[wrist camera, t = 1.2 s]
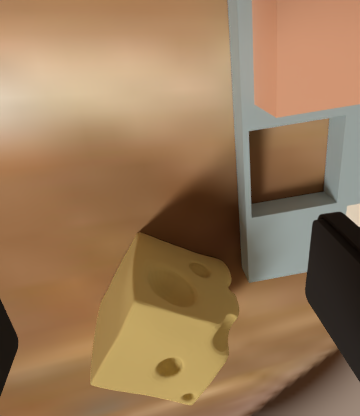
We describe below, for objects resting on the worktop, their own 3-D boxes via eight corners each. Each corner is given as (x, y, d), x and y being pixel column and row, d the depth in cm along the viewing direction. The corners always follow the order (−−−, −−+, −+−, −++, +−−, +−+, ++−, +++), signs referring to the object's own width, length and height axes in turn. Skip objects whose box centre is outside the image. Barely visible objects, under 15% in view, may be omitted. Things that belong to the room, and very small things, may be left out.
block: (251, -3, 22) (277, -10, 18) (353, -18, 23) (399, -28, 19) (254, 104, 26) (276, 117, 22) (342, 90, 26) (380, 100, 22)
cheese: (225, 258, 36) (255, 333, 27) (179, 328, 39) (192, 414, 31) (134, 224, 32) (134, 297, 24) (93, 304, 36) (80, 392, 27)
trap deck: (220, -138, 21) (230, -158, 19) (493, -173, 22) (533, -196, 20) (241, 267, 36) (248, 282, 34) (402, 237, 37) (419, 251, 35)
